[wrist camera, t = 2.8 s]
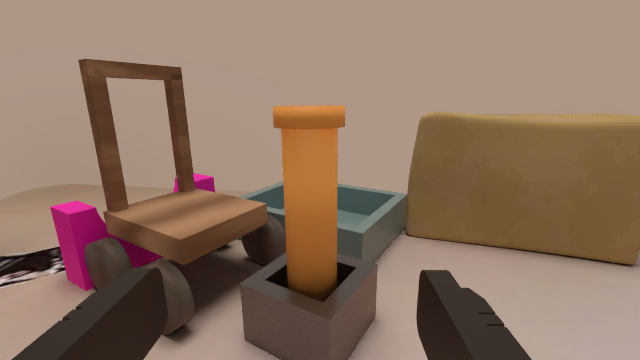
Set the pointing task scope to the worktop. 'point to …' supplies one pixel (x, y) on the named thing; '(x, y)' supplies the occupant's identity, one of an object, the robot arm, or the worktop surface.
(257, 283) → the pin socket
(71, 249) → the toy block
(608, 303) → the worktop surface
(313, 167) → the pin
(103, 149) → the trolley
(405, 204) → the tray
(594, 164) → the cheese
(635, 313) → the worktop surface
